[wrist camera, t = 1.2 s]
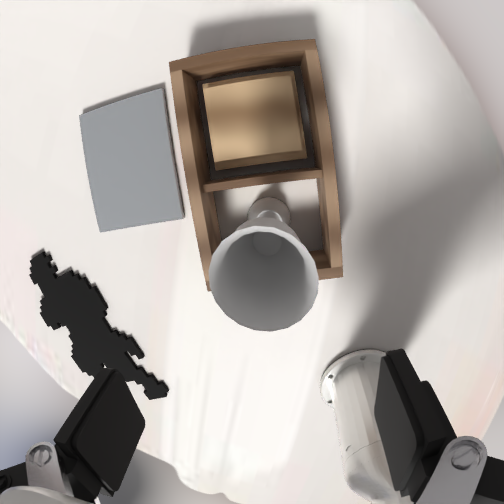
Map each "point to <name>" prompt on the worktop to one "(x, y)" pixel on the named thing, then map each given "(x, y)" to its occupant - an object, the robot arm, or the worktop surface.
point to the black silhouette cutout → (88, 326)
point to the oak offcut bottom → (267, 157)
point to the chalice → (264, 271)
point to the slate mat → (131, 162)
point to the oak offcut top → (252, 118)
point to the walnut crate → (203, 187)
